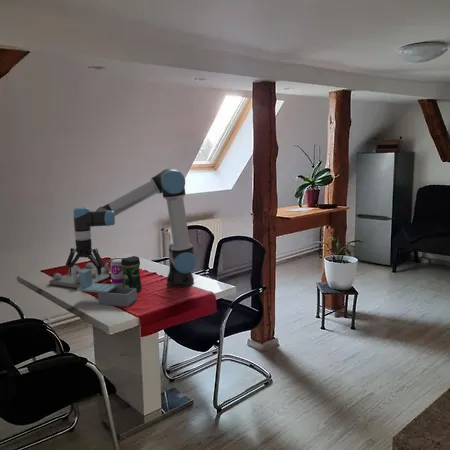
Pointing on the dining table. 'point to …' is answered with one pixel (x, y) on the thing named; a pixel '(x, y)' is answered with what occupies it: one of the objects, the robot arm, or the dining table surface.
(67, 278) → the decorative tray
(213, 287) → the dining table surface
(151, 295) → the dining table surface
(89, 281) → the pale blue stepped block
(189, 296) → the dining table surface
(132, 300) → the tub
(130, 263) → the coffee jar
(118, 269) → the supplement can
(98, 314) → the dining table surface
